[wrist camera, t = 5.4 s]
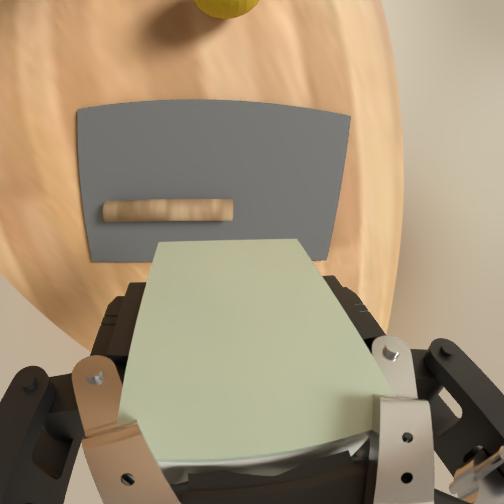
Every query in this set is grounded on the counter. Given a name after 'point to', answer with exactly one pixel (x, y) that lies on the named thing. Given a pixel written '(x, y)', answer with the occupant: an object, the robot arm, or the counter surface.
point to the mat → (211, 171)
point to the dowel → (168, 210)
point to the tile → (245, 361)
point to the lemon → (225, 7)
